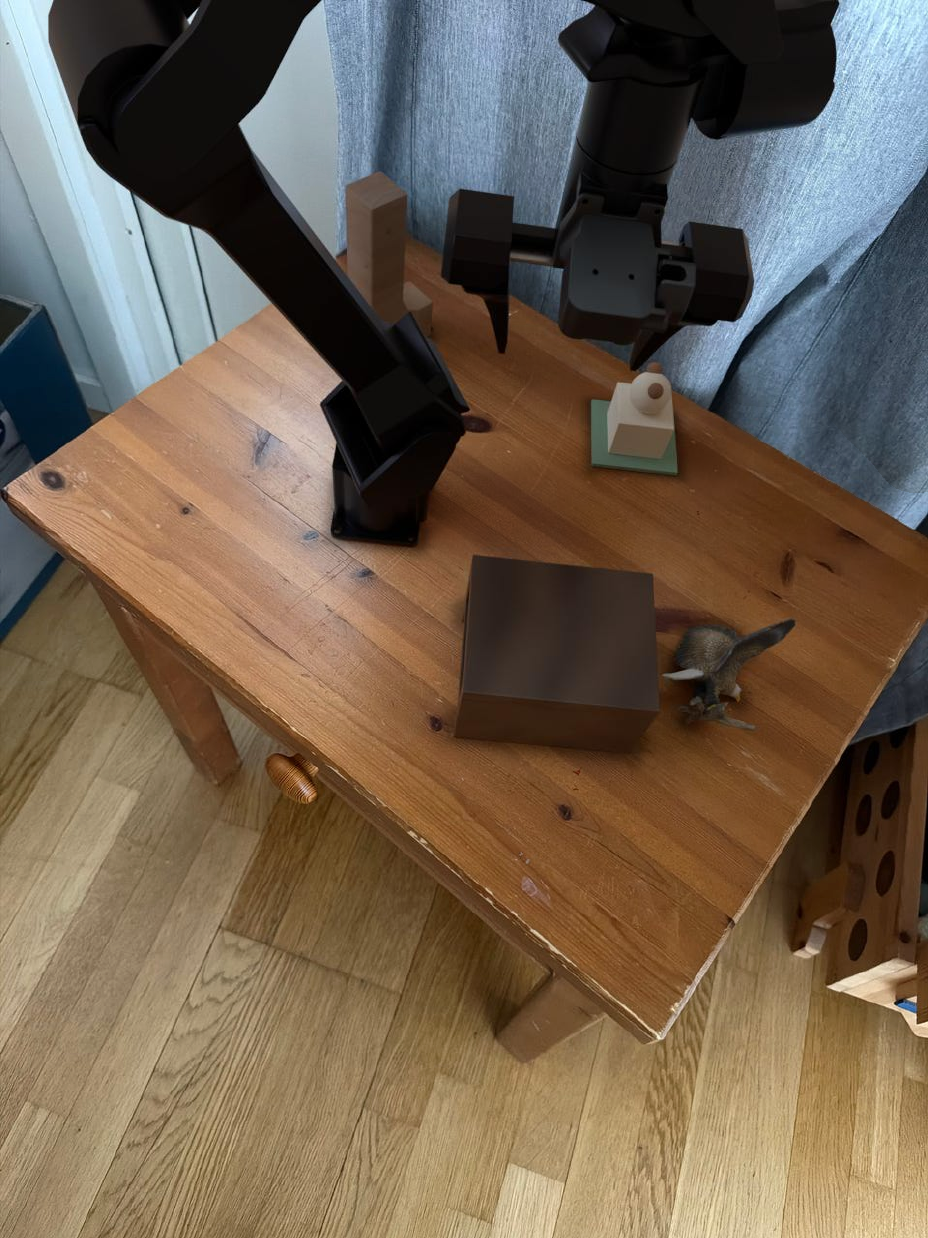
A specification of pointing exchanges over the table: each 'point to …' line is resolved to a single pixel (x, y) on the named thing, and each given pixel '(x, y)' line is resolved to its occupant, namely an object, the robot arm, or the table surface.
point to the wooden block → (382, 250)
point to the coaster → (625, 462)
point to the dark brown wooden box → (557, 655)
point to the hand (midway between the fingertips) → (567, 358)
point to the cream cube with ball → (641, 415)
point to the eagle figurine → (720, 666)
